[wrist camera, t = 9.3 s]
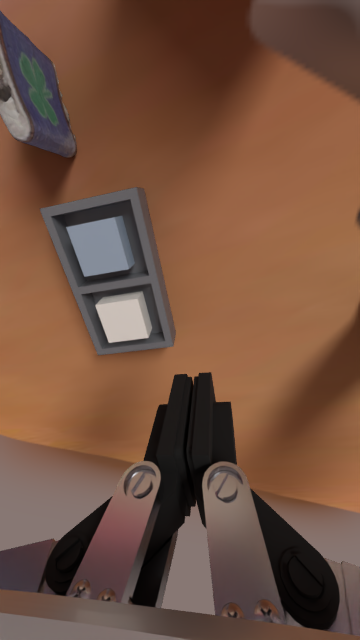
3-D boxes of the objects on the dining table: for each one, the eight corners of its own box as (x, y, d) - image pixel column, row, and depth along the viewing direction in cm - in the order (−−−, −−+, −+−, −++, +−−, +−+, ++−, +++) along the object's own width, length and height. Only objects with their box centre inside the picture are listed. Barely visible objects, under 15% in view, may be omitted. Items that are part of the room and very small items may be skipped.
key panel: (143, 188, 30) (136, 187, 26) (175, 333, 39) (173, 346, 35) (57, 207, 32) (39, 208, 28) (107, 341, 41) (98, 355, 37)
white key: (142, 291, 34) (137, 298, 31) (152, 327, 37) (148, 337, 34) (103, 297, 35) (95, 305, 32) (115, 332, 37) (108, 342, 35)
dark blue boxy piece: (81, 156, 29) (21, 133, 19) (58, 160, 29) (-10, 141, 20) (52, 51, 25) (-40, -41, 16) (27, 58, 26) (-78, -28, 16)
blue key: (122, 215, 30) (114, 217, 27) (134, 263, 32) (129, 269, 30) (77, 224, 31) (66, 227, 28) (93, 270, 33) (84, 276, 30)
